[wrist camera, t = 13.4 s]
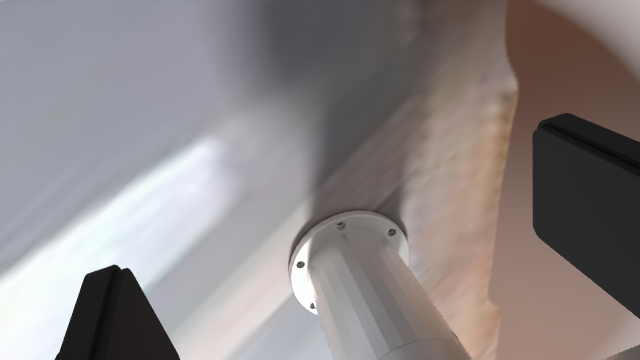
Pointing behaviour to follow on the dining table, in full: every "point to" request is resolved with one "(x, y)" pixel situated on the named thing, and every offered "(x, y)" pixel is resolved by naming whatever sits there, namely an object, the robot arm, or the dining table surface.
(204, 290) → the dining table surface
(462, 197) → the dining table surface
